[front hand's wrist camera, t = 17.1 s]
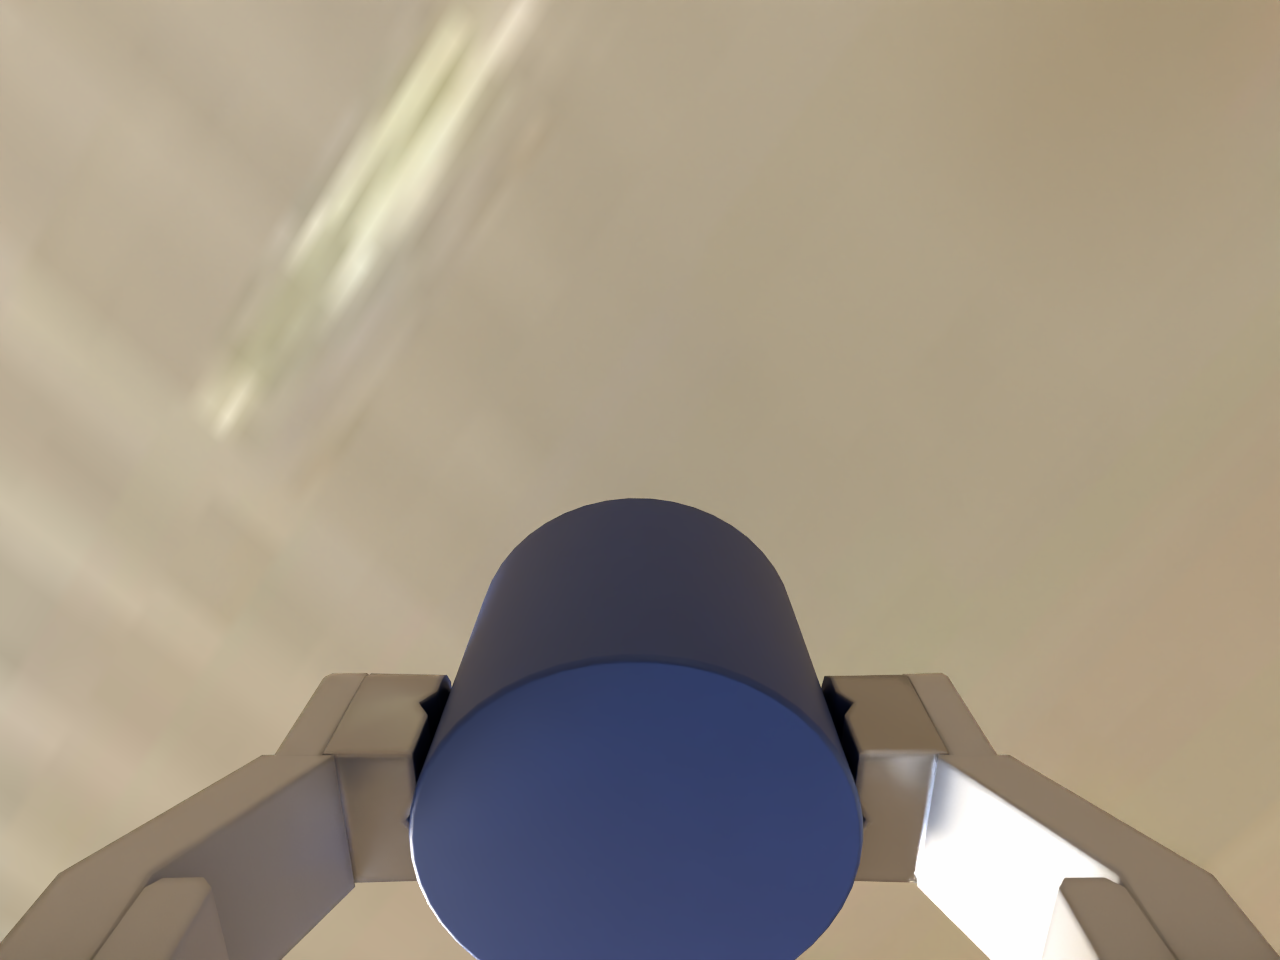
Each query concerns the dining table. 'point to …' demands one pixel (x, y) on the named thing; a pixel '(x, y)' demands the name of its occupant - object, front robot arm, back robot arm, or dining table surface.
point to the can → (636, 754)
